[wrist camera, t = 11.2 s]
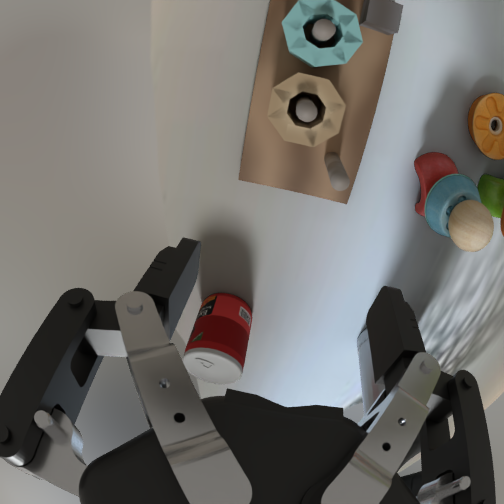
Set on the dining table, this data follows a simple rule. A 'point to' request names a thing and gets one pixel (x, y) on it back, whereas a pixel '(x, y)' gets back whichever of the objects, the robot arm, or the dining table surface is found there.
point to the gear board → (318, 102)
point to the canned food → (219, 339)
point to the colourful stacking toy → (465, 183)
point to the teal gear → (309, 12)
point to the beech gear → (297, 129)
